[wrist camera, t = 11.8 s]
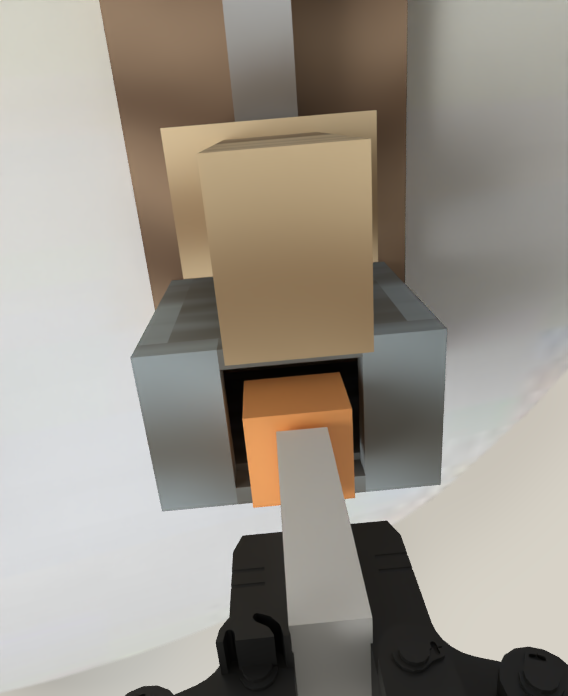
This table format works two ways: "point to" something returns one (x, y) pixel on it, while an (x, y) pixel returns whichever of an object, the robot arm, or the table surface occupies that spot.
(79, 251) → the table surface
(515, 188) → the table surface
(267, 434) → the button
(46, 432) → the table surface
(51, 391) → the table surface
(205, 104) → the rail track
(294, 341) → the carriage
